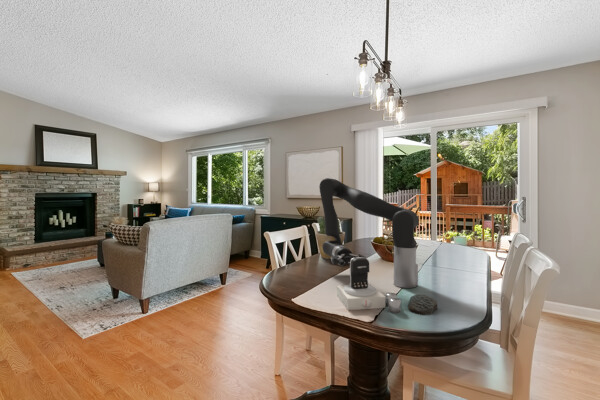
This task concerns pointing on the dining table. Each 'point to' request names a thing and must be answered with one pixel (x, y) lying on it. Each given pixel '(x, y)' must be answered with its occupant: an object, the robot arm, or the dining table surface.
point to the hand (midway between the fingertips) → (353, 263)
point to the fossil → (422, 304)
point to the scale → (360, 297)
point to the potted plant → (325, 236)
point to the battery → (359, 273)
